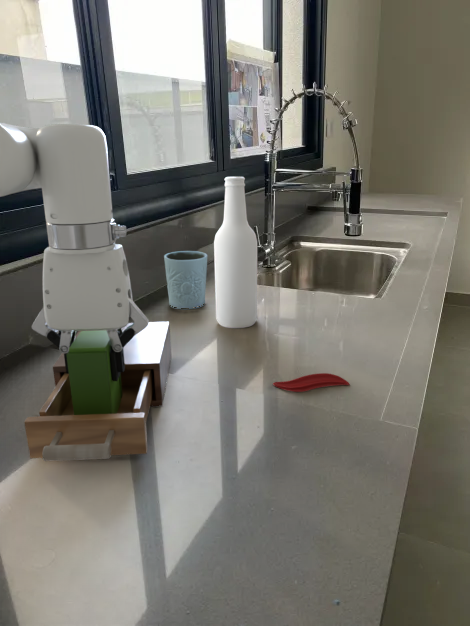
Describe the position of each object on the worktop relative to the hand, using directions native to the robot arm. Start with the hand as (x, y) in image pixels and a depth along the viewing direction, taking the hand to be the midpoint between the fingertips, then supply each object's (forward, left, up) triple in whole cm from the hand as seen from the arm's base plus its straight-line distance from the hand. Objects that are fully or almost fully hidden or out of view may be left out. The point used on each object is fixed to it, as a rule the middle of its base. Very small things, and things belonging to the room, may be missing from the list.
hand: (96, 375), depth 64 cm
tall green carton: (0, 0, -5) cm, 5 cm away
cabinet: (0, +14, -8) cm, 16 cm away
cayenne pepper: (+30, +10, -8) cm, 33 cm away
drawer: (0, -2, -7) cm, 7 cm away
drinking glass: (+9, +55, -8) cm, 56 cm away
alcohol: (+20, +41, -8) cm, 46 cm away
